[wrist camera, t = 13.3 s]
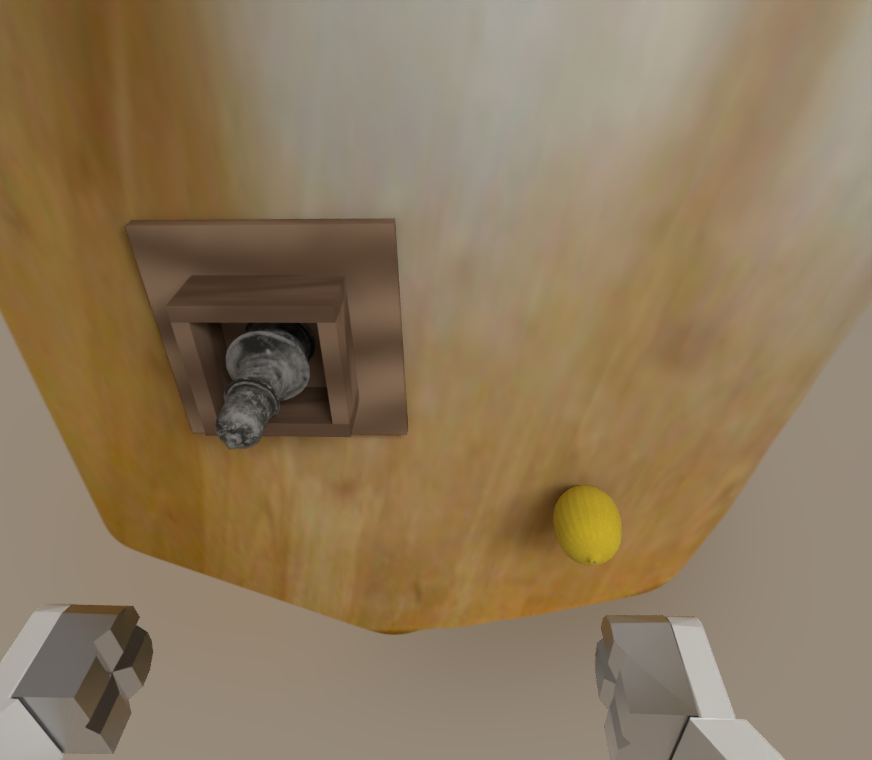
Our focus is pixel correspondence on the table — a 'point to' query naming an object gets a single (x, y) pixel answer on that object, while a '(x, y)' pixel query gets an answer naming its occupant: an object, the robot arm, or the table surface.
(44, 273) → the table surface
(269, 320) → the caddy
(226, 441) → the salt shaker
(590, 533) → the lemon
